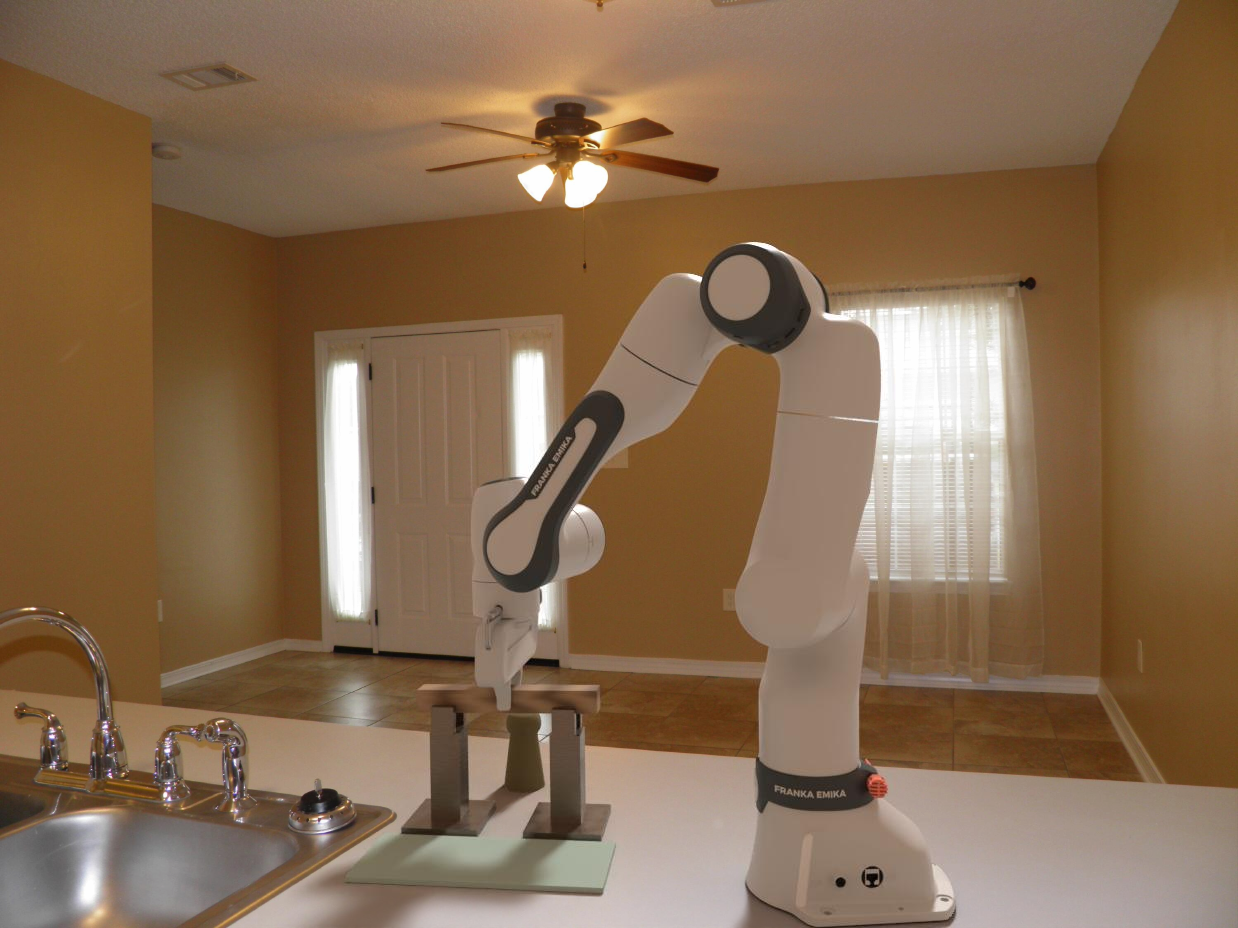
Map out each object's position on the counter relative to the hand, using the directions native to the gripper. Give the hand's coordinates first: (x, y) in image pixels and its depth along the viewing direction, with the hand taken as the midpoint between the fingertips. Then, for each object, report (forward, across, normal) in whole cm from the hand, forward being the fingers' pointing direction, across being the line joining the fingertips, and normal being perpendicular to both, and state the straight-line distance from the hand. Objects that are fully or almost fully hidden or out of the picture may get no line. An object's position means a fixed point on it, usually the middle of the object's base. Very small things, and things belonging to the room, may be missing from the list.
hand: (509, 704), depth 122 cm
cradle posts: (+16, 0, 0) cm, 16 cm away
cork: (+16, +14, +2) cm, 21 cm away
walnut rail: (+1, 0, 0) cm, 1 cm away
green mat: (+16, -12, 0) cm, 20 cm away
